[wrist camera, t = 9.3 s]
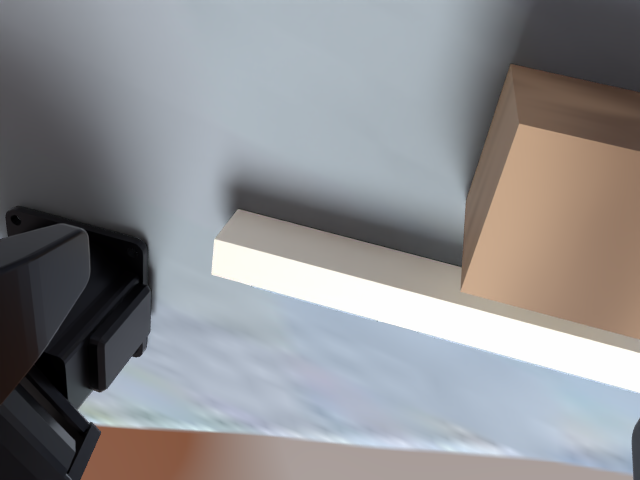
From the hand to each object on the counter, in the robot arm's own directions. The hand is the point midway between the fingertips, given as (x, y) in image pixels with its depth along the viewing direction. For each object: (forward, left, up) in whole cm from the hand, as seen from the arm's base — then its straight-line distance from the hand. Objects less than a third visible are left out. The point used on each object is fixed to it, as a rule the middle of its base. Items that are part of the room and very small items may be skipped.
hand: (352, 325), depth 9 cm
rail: (+6, -7, -13) cm, 16 cm away
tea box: (+6, -1, -13) cm, 14 cm away
